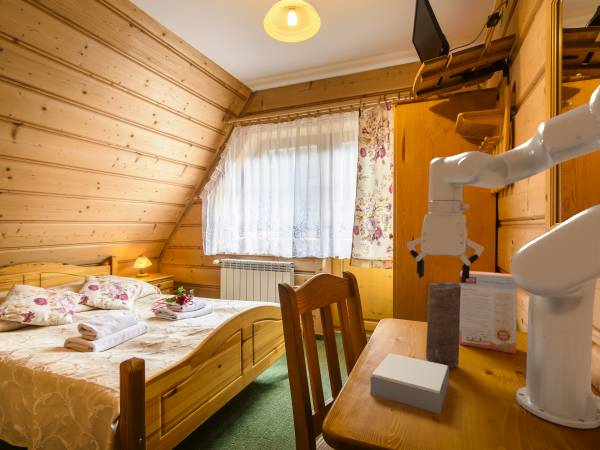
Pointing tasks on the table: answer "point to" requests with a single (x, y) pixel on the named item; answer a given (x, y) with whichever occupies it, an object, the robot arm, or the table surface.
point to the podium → (411, 382)
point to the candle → (443, 324)
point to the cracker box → (488, 311)
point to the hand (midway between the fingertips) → (442, 279)
